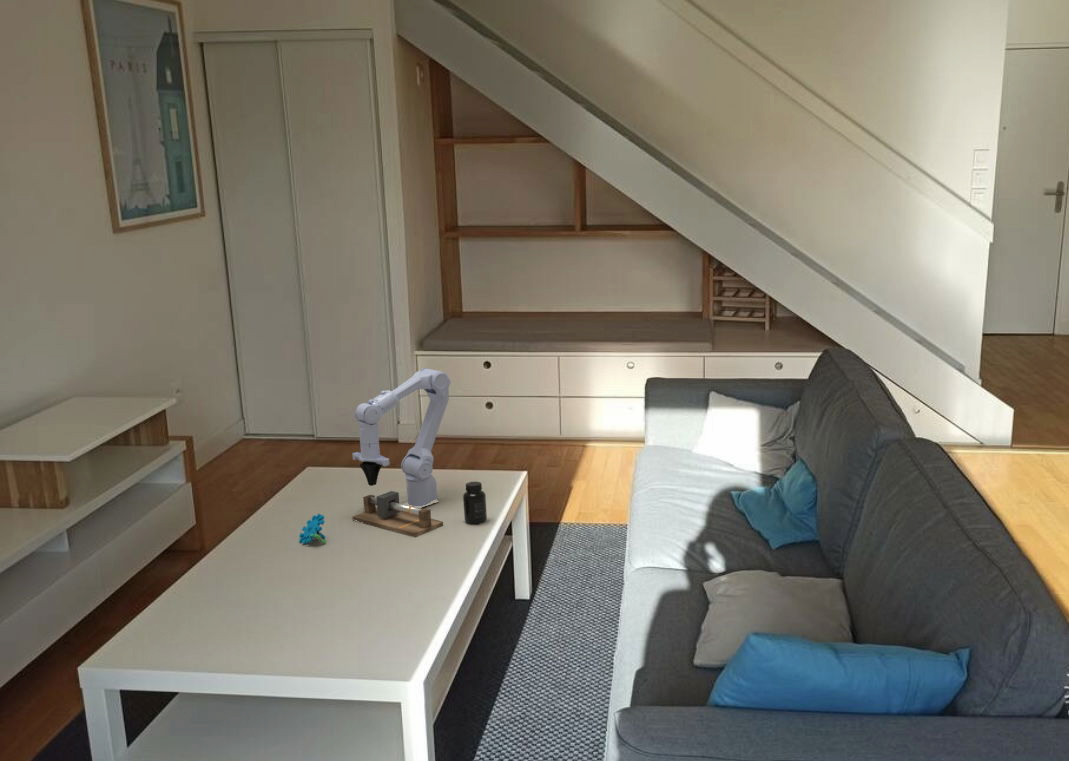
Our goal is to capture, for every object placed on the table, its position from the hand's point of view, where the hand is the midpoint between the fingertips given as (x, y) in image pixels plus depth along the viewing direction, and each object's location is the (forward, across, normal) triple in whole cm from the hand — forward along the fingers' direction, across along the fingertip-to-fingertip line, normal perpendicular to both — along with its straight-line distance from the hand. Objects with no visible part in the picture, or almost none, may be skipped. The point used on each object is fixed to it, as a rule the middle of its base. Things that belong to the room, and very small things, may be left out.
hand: (372, 484), depth 310 cm
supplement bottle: (+11, +30, +14) cm, 34 cm away
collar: (+8, +7, 0) cm, 11 cm away
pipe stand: (+10, +10, 0) cm, 14 cm away
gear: (+11, +1, -25) cm, 27 cm away
